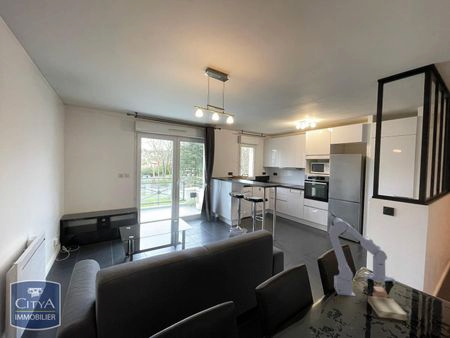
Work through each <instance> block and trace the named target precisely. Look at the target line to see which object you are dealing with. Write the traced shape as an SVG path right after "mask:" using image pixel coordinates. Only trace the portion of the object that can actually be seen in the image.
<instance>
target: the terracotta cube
mask: <svg viewBox="0 0 450 338" xmlns="http://www.w3.org/2000/svg"><path fill="white" fill-rule="evenodd" d="M371 293H372V292H371ZM371 295H372V296H374V297H382V298H388V295H387V292H386V291H385V288H383V286H375V285H374V293H372V294H371Z"/></svg>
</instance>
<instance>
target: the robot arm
mask: <svg viewBox="0 0 450 338" xmlns="http://www.w3.org/2000/svg"><path fill="white" fill-rule="evenodd" d="M344 232H345V233H349V234H351V235H352V236H354V237H355V238H356V239H357V240H358V241H359V242H360V246H361V247H363V248H364V249H365V250H366V251H367V252H369V253H370V254H371V255H372V274H364V277H363V278H364V280H366V282H367V284H368V286H369V290H370V292H371V293H374V286H375V282H374V281H379V282H382V283H384V287H385V288H384V290H385V291H386V292H387V296H389V295H390V292H391V290H392V289H393V287H395V285H394V283H396V279H395V278H394V277H391V276H386V260H387V259H388V256H387V254H386V252H385V251H384V250H383V249H381V247H380V245H377V244H375V242H374V240H373V239H371V238H368V237H364V236H363V235H362V234H360V232H359V231H358V230H356V229H355V228H354V227H353V226H352V225H351V224H349V223H348V222H346V221H345V220H343V219H342V218H340V217H335V218H334V219H332V220H331V222H330V226H329V229H328V236H329V240H330V242H331V245H332V248H333V251H334V254H335V258H336V260H337V263H338V266H337V268H338V271H339V273H338V274H337V275H334V276H333V288H334V290H335V292H336V293H337V295H342V296H350V297H356V294H355V293H354V292H353V278H354V273H353V272H352V270H351V268H350V266H349V265H348V262H347V258H346V256H345V254H344V251H343V247H342V245H341V242H340V238H339V236H340V234H342V233H344Z"/></svg>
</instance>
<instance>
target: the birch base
mask: <svg viewBox="0 0 450 338" xmlns="http://www.w3.org/2000/svg"><path fill="white" fill-rule="evenodd" d="M367 302H368V304H369V305H370V306H371V307H372V310H373V311H374V312H375V313H376V314H377V316H378V317H380V318H385V319H386V318H387V319H392V320H393V319H394V320H400V321H408V313H406V311H405V310H404V309H403V308H402V307H401V306H400V305H399V304H398V303H397V302H396V301H395V299H393V298H389V297H387V298H382V297H374V296H373V295H372V296H371V295H367Z"/></svg>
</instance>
